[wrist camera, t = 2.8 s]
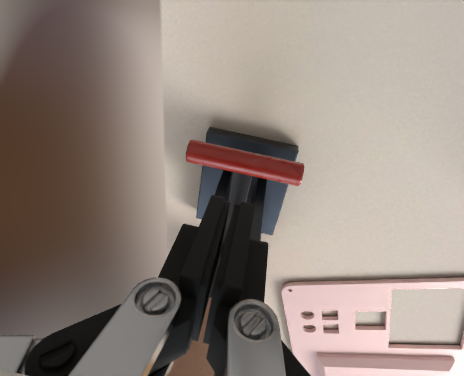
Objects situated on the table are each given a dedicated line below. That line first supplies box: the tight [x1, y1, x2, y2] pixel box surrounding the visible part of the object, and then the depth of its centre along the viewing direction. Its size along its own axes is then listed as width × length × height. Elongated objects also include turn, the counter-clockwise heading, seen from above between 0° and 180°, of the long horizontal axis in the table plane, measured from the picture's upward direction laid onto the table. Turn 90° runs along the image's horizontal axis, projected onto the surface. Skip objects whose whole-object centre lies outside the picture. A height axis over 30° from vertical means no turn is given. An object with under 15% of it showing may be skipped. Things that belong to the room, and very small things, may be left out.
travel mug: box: [168, 267, 218, 376], centre depth 37 cm, size 8×8×20 cm
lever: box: [186, 140, 304, 267], centre depth 22 cm, size 15×6×2 cm, turn 171°
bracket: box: [196, 127, 298, 241], centre depth 31 cm, size 12×10×14 cm
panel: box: [281, 277, 464, 376], centre depth 49 cm, size 35×33×2 cm
